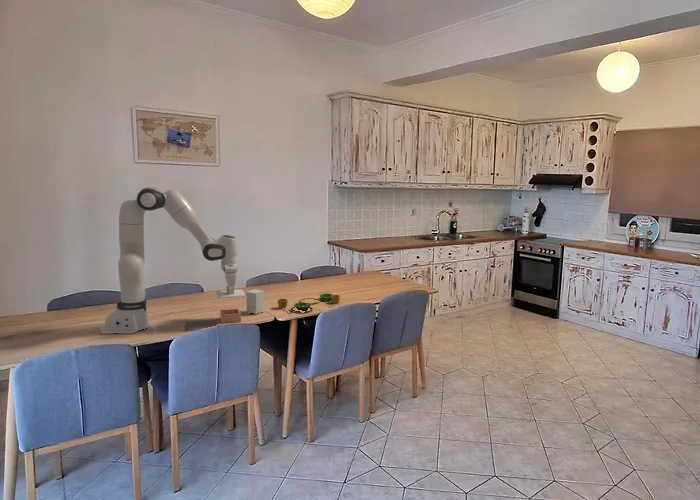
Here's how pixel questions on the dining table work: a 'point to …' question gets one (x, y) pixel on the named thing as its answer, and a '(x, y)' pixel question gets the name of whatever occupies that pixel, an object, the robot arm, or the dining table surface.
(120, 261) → the robot arm
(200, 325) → the mat
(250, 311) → the supplement box
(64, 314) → the dining table surface
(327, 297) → the tableware set
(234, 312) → the brown open box
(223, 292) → the lid
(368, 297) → the dining table surface
